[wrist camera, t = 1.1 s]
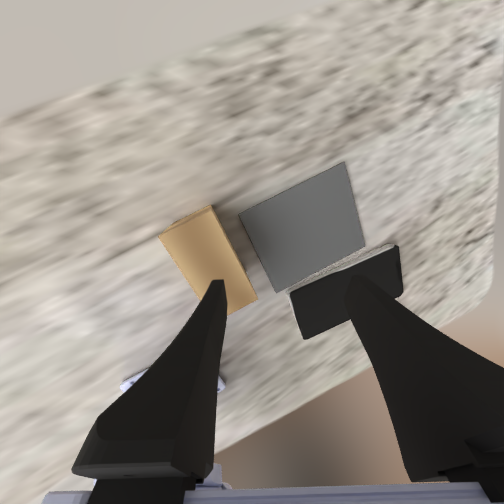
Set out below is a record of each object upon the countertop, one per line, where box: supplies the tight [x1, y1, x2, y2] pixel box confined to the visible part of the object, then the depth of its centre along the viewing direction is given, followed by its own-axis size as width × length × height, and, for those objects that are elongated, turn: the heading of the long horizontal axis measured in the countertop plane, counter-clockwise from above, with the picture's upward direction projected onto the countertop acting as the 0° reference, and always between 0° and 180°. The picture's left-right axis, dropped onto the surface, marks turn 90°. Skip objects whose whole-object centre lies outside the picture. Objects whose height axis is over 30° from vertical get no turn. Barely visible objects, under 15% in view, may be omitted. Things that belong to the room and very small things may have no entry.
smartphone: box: [286, 244, 403, 340], centre depth 25 cm, size 8×1×15 cm
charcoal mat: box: [238, 162, 365, 293], centre depth 22 cm, size 12×10×1 cm
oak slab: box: [158, 205, 258, 315], centre depth 18 cm, size 4×8×6 cm, turn 25°
